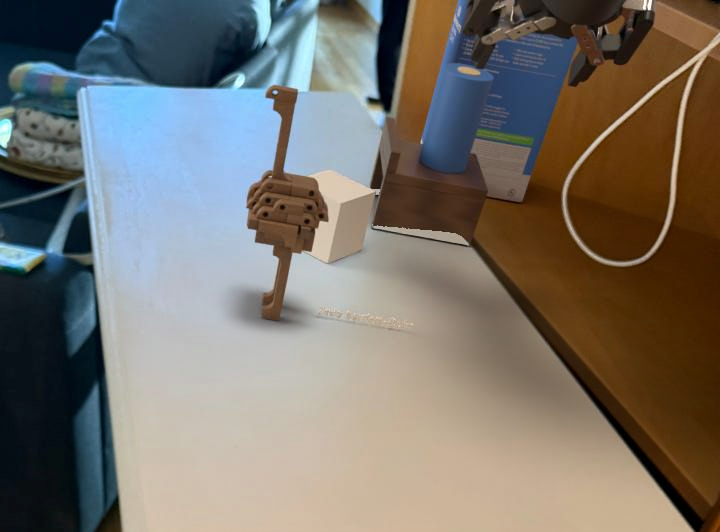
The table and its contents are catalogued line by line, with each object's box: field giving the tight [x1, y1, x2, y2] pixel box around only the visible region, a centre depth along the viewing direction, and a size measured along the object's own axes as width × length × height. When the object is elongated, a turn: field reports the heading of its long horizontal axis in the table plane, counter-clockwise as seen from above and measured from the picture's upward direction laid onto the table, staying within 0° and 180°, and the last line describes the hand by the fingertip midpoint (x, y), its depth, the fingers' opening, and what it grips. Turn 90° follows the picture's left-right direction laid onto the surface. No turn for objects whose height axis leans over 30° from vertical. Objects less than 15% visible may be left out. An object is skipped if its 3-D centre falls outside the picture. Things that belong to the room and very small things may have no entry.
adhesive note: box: [302, 169, 376, 264], centre depth 94 cm, size 6×6×6 cm
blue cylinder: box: [419, 63, 494, 174], centre depth 98 cm, size 5×5×9 cm
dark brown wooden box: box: [369, 116, 488, 245], centre depth 103 cm, size 11×11×8 cm
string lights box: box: [420, 0, 579, 203], centre depth 106 cm, size 13×8×26 cm, turn 86°
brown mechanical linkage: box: [245, 84, 415, 331], centre depth 79 cm, size 17×7×18 cm, turn 88°
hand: (526, 67), depth 83 cm, fingers open, 8 cm apart
